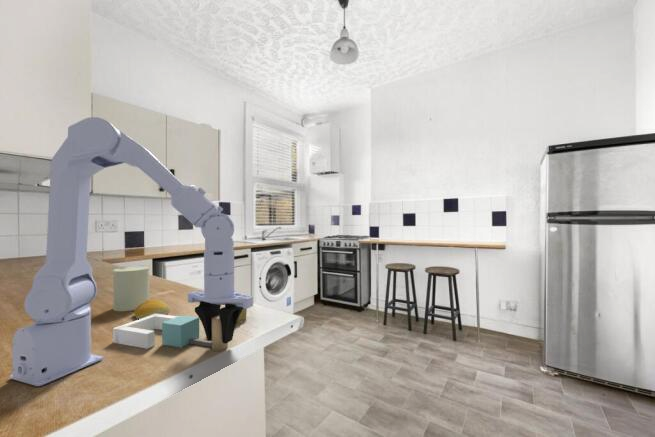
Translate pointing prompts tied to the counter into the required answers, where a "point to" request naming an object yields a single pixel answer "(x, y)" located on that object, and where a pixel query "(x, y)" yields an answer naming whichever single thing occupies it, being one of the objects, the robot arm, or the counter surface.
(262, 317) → the counter surface
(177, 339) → the tethered block
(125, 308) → the can
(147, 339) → the white u-shaped bracket
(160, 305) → the bread roll
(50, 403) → the counter surface
